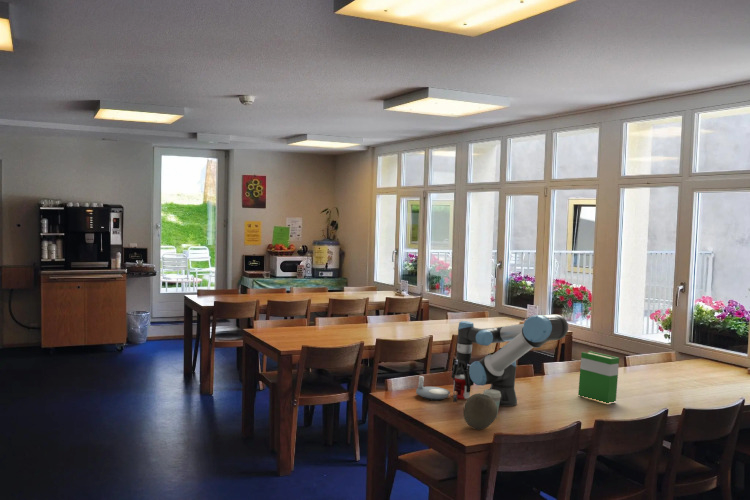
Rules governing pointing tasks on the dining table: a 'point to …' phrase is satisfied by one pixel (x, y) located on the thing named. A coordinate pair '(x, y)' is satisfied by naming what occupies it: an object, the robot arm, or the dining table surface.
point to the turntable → (431, 391)
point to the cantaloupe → (480, 411)
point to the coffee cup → (493, 396)
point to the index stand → (441, 399)
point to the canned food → (460, 386)
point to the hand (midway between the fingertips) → (461, 395)
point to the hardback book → (598, 376)
